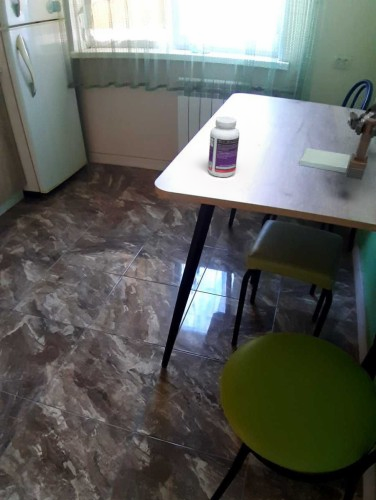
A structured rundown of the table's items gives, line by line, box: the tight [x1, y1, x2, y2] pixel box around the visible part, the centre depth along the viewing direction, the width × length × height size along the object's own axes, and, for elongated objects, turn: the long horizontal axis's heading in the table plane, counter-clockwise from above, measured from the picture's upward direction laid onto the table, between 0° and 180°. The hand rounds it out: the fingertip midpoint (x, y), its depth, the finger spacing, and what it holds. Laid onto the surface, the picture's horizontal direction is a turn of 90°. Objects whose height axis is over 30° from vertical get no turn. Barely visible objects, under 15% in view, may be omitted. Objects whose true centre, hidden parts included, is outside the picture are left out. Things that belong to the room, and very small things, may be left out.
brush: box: [345, 118, 376, 181], centre depth 101 cm, size 6×4×13 cm, turn 159°
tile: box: [299, 147, 351, 174], centre depth 129 cm, size 14×12×2 cm
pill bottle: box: [207, 116, 240, 178], centre depth 115 cm, size 8×8×14 cm
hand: (366, 131), depth 96 cm, fingers closed on brush, 2 cm apart
